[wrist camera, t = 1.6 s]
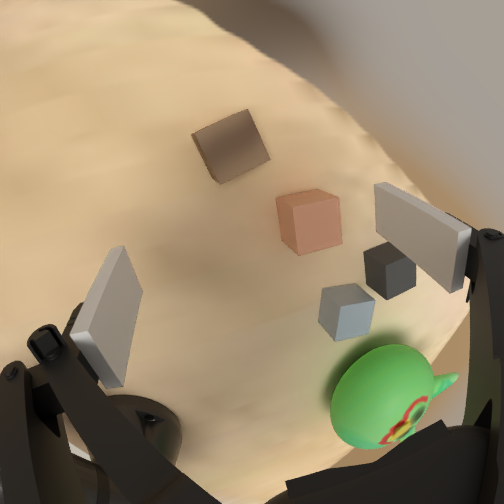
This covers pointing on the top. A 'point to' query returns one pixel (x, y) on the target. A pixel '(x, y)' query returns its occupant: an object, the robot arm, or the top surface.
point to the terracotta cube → (309, 221)
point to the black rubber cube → (389, 270)
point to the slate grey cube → (345, 311)
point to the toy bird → (384, 396)
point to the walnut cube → (231, 146)
